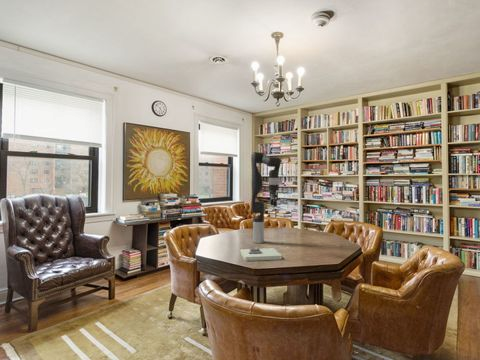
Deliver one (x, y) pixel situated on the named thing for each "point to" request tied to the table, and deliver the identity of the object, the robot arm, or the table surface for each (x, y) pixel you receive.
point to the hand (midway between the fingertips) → (273, 205)
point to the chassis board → (261, 255)
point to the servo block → (254, 251)
